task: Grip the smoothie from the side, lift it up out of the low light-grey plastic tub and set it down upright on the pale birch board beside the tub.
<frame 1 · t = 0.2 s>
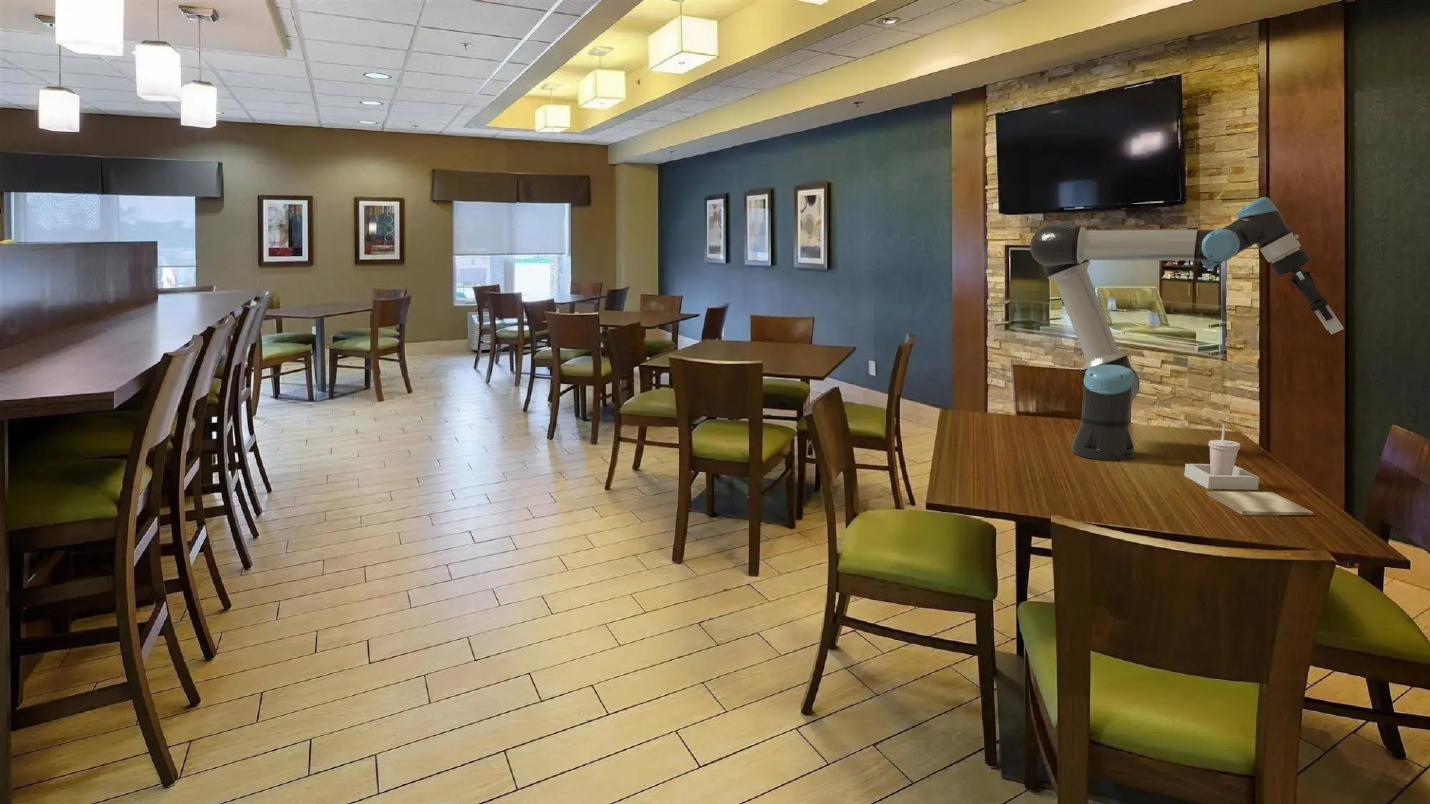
hand: (1335, 329, 197), 35 cm above the table, tool tilted 35°, fingers open, 13 cm apart
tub: (1219, 482, 192), on the table
smoothie: (1219, 483, 192), resting in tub
board: (1257, 504, 175), on the table
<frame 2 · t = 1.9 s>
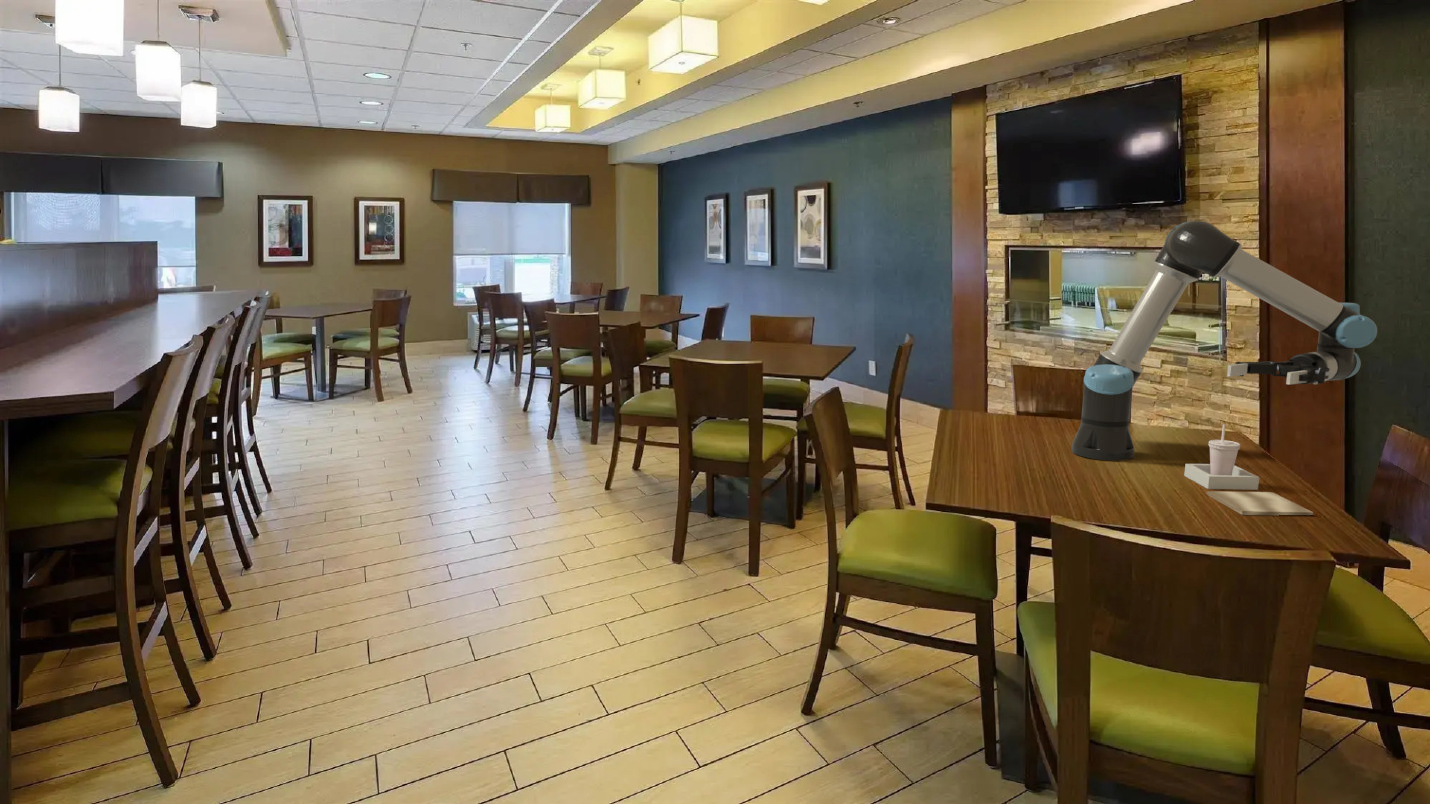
hand: (1257, 374, 191), 25 cm above the table, tool horizontal, fingers open, 13 cm apart
nothing on the table moved.
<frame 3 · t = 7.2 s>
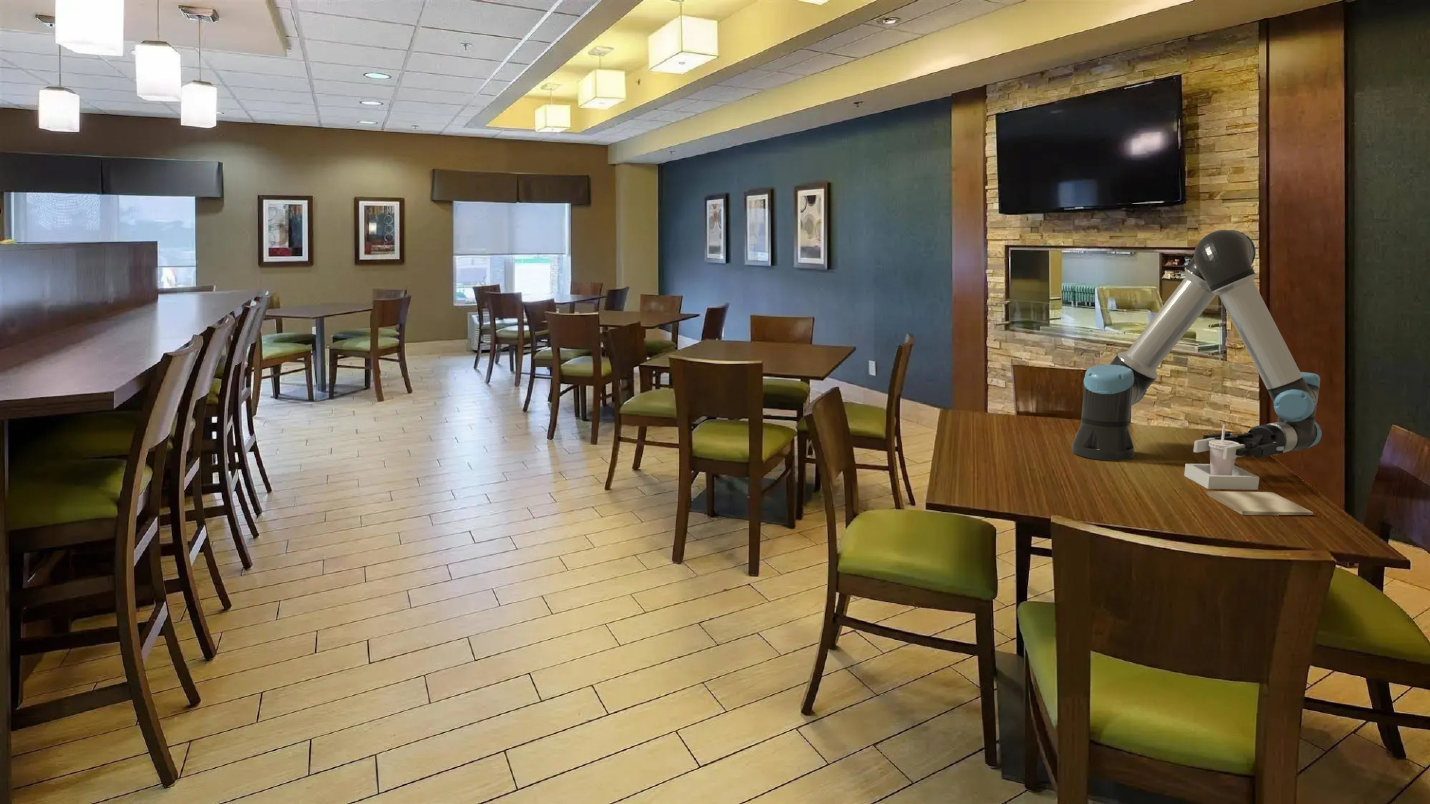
hand: (1210, 449, 188), 9 cm above the table, tool horizontal, fingers closed on smoothie, 6 cm apart
smoothie: (1219, 483, 192), resting in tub, touching gripper
when the fingers open (10 cm above the table, at t = 12.3 s): smoothie drops 1 cm, resting on board.
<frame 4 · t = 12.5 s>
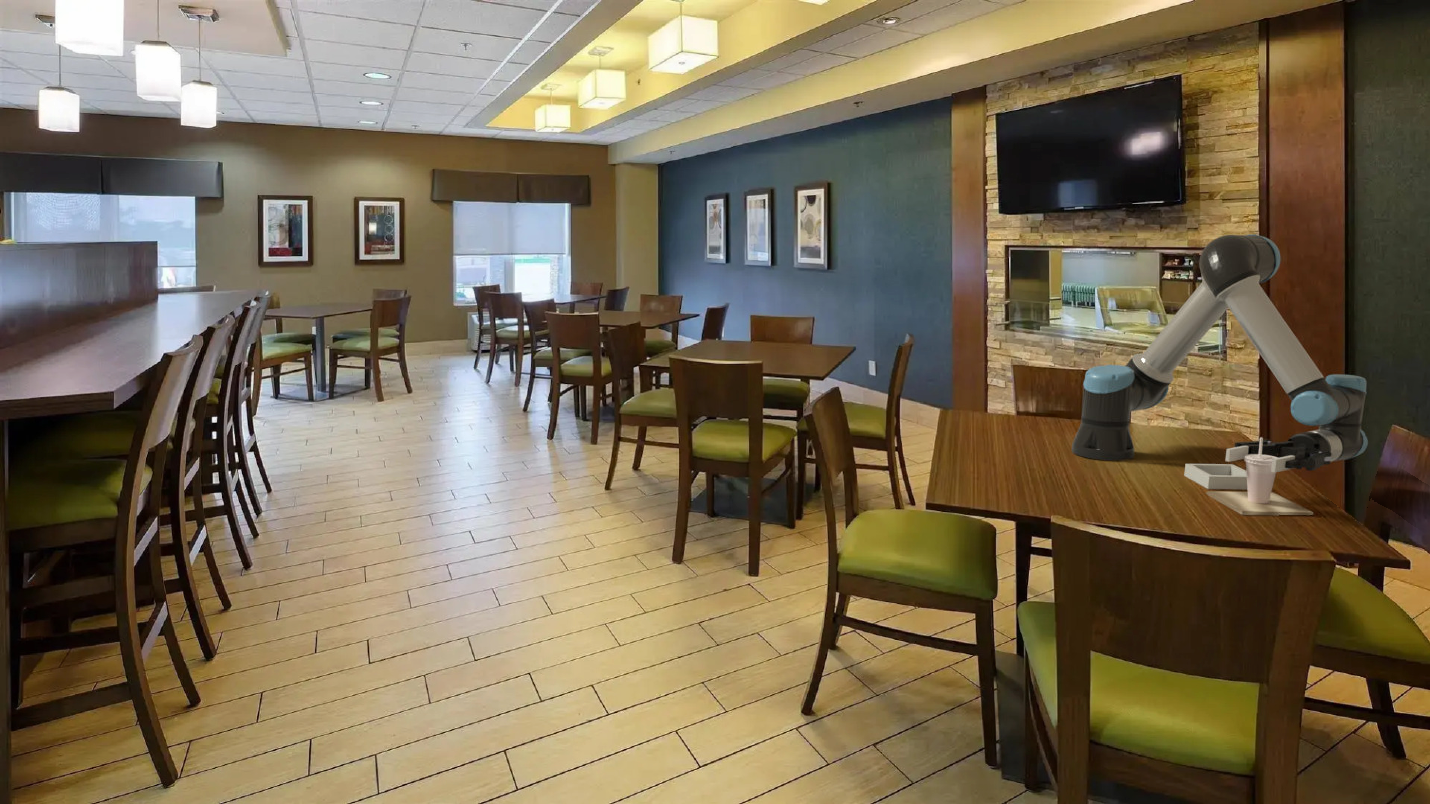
hand: (1250, 460, 171), 10 cm above the table, tool horizontal, fingers open, 9 cm apart
smoothie: (1258, 502, 175), point 1 cm above the table, touching board
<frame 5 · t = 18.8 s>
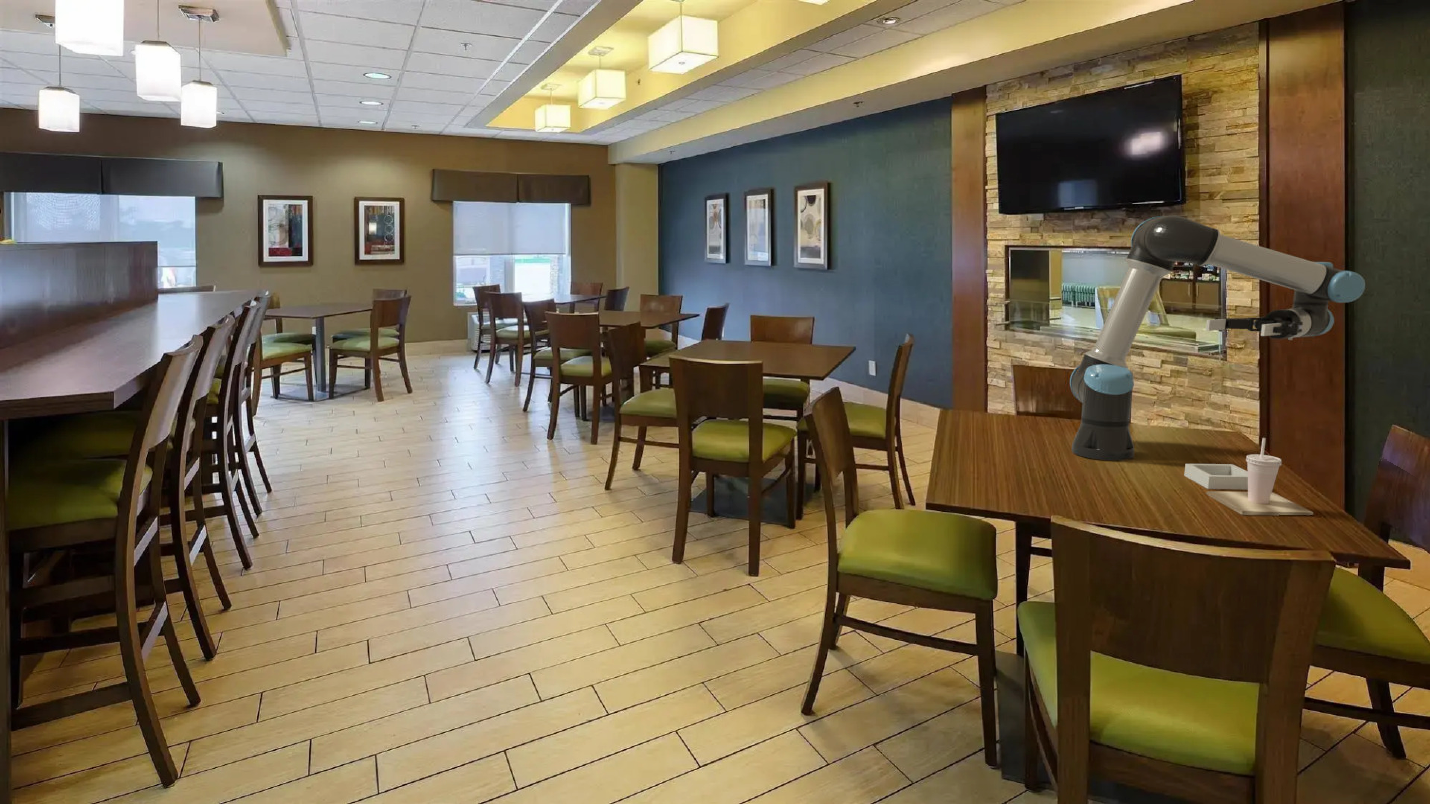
hand: (1234, 327, 200), 35 cm above the table, tool horizontal, fingers open, 13 cm apart
nothing on the table moved.
at the end: smoothie inside the target area on the board (0.1 cm from its centre), point 0.6 cm above the board's base; smoothie tilted 0°; the gripper is holding nothing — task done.
